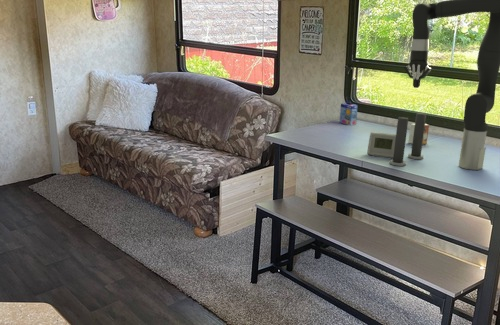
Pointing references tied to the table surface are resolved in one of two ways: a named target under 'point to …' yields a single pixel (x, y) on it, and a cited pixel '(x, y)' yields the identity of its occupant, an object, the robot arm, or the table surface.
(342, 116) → the ink cartridge box
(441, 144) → the table surface
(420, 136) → the post right
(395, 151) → the post left
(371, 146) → the digital clock
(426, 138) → the small box
